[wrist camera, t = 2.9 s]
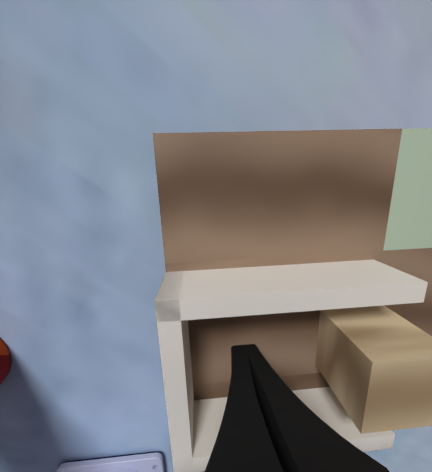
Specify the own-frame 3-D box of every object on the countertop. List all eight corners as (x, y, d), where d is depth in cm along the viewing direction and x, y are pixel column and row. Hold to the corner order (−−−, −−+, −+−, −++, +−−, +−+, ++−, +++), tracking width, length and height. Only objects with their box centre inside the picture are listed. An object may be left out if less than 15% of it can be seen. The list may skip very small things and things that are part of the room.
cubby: (353, 395, 15) (392, 448, 12) (179, 413, 14) (173, 474, 11) (373, 259, 12) (427, 282, 9) (165, 271, 12) (154, 300, 9)
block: (373, 358, 14) (440, 424, 10) (315, 363, 14) (360, 433, 10) (382, 304, 13) (460, 354, 9) (320, 309, 13) (372, 362, 9)
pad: (453, 236, 15) (491, 244, 13) (357, 242, 14) (382, 250, 12) (478, 135, 13) (524, 126, 11) (371, 137, 13) (401, 129, 11)
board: (503, 355, 17) (541, 376, 16) (182, 385, 16) (179, 413, 14) (577, 133, 14) (640, 124, 12) (160, 142, 12) (152, 133, 10)
